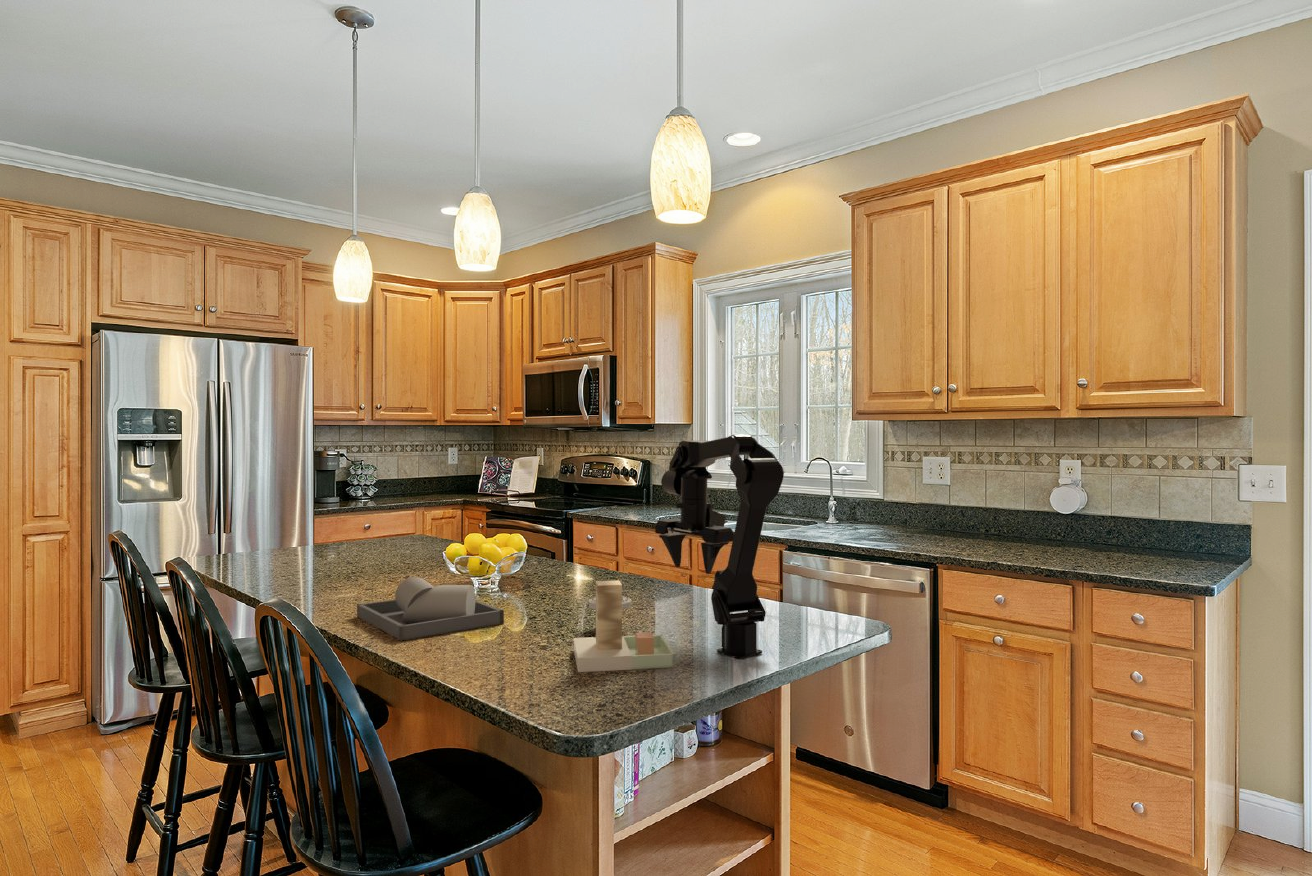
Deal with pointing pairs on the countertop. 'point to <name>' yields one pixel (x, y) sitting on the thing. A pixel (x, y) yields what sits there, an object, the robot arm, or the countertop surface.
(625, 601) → the showerhead
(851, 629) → the countertop surface
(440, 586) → the elbow connector
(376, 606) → the divided desk organizer
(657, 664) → the tray
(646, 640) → the peach rectangular box
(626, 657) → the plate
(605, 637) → the block
